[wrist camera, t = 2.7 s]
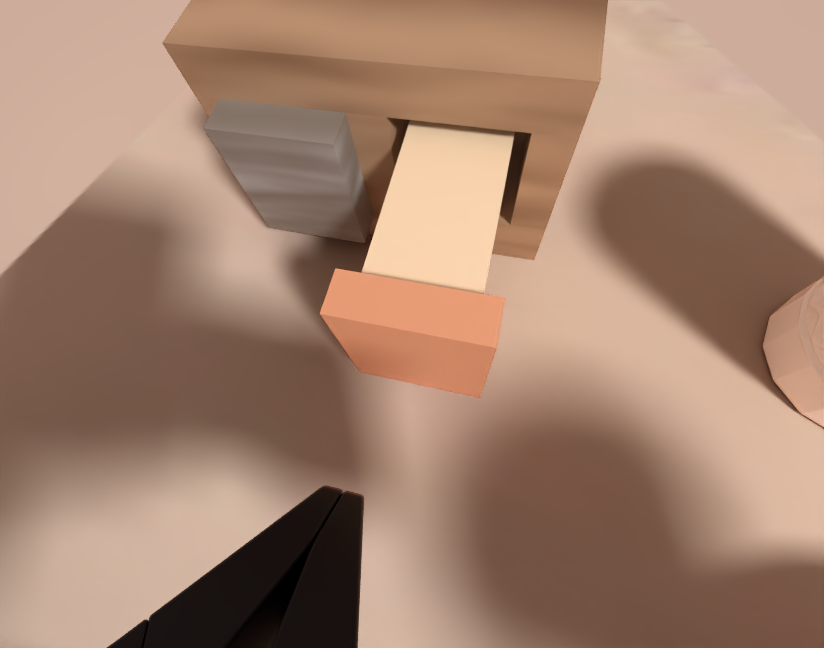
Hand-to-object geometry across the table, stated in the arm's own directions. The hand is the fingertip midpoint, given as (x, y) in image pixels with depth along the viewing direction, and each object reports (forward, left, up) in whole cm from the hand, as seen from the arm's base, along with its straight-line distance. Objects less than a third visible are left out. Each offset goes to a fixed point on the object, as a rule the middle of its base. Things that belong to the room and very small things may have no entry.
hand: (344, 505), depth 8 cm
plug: (+7, +6, -8) cm, 12 cm away
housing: (+10, +13, -9) cm, 19 cm away
